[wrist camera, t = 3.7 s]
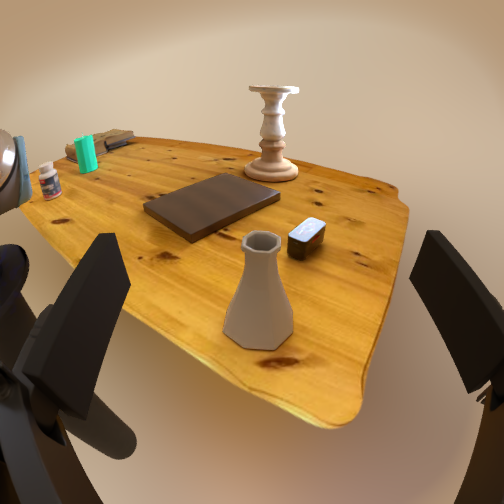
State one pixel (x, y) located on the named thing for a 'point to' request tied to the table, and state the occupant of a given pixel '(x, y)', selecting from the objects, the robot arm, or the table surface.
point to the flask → (259, 297)
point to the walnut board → (209, 205)
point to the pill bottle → (49, 181)
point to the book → (103, 142)
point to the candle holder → (272, 138)
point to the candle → (86, 154)
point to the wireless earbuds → (305, 238)
